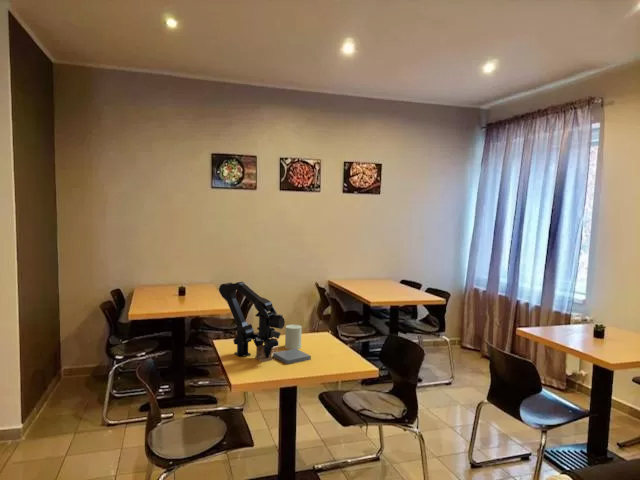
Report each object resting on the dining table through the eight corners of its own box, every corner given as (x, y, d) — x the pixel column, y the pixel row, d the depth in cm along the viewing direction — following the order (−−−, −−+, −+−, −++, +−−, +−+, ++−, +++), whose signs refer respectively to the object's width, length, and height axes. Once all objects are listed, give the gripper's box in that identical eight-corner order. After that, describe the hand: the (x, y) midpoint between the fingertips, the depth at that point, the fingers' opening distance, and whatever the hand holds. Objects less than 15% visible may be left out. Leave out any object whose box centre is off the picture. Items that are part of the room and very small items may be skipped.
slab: (273, 356, 235) (273, 352, 235) (295, 352, 243) (295, 348, 243) (287, 364, 224) (287, 360, 224) (310, 359, 232) (310, 355, 232)
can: (304, 346, 254) (305, 325, 253) (294, 350, 246) (295, 328, 246) (291, 343, 259) (291, 322, 258) (281, 347, 251) (281, 325, 251)
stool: (255, 358, 232) (255, 346, 231) (265, 356, 235) (265, 344, 235) (261, 362, 226) (262, 349, 226) (272, 360, 230) (272, 347, 229)
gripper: (287, 327, 227) (287, 358, 228) (269, 320, 242) (268, 348, 243) (268, 330, 220) (267, 362, 221) (250, 322, 235) (249, 352, 236)
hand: (263, 356), depth 231 cm, fingers closed on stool, 6 cm apart
